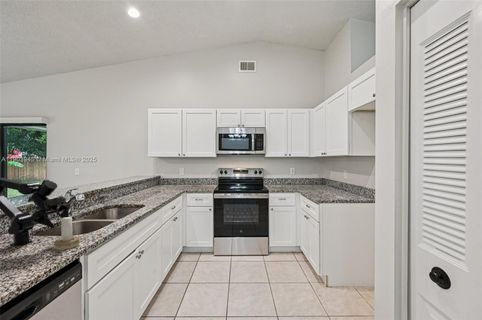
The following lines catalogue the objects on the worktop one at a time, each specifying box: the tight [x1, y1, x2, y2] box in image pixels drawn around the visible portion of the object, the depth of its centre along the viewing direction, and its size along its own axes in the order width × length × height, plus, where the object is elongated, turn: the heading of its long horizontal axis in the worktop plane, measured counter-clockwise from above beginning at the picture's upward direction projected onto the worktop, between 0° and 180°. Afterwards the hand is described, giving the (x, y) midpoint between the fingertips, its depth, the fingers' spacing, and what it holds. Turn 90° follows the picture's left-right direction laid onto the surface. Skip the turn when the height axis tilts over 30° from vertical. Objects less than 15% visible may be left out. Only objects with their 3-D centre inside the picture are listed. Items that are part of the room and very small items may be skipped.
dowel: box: [60, 216, 73, 242], centre depth 123 cm, size 4×4×14 cm
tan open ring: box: [53, 235, 80, 251], centre depth 124 cm, size 10×10×3 cm
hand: (62, 224), depth 124 cm, fingers open, 9 cm apart
